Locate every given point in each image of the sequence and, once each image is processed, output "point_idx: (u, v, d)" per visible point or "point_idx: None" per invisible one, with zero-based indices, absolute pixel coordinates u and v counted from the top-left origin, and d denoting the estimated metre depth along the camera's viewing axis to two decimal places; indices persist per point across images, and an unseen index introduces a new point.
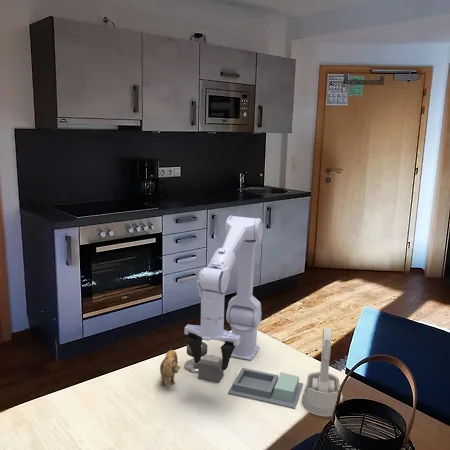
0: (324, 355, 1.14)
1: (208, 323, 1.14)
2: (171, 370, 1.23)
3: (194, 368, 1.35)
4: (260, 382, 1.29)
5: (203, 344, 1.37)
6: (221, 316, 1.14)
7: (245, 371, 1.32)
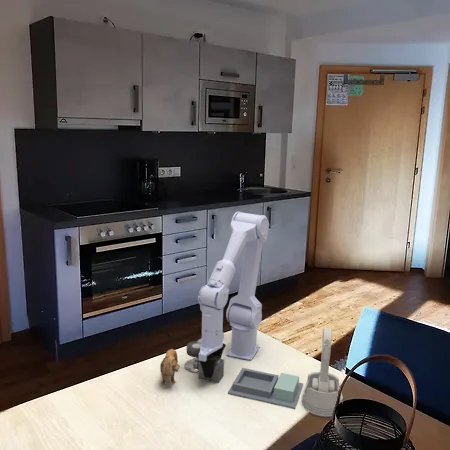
0: (324, 355, 1.14)
1: None
2: (171, 369, 1.23)
3: (194, 368, 1.35)
4: (260, 382, 1.29)
5: None
6: (218, 330, 1.26)
7: (245, 371, 1.32)
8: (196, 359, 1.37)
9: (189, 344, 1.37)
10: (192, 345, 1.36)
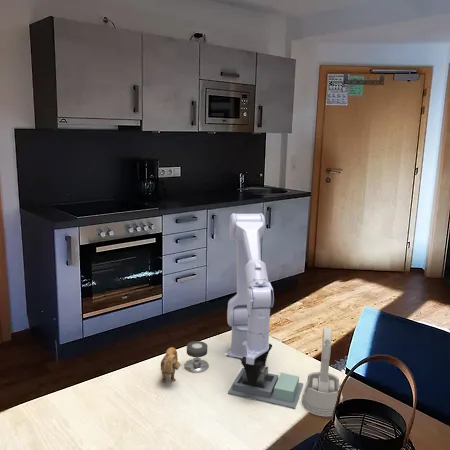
0: (324, 355, 1.14)
1: None
2: (172, 367, 1.24)
3: (194, 368, 1.35)
4: None
5: (203, 344, 1.37)
6: None
7: None
8: (196, 359, 1.37)
9: (189, 344, 1.37)
10: (192, 345, 1.36)
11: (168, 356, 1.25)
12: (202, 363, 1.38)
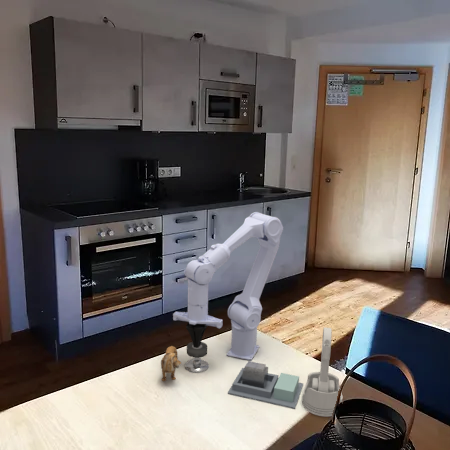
0: (324, 355, 1.14)
1: (194, 309, 1.31)
2: (172, 365, 1.25)
3: (194, 368, 1.35)
4: None
5: (203, 344, 1.37)
6: (200, 304, 1.30)
7: None
8: (196, 359, 1.37)
9: (189, 344, 1.37)
10: (192, 345, 1.36)
11: (168, 355, 1.26)
12: (202, 363, 1.38)
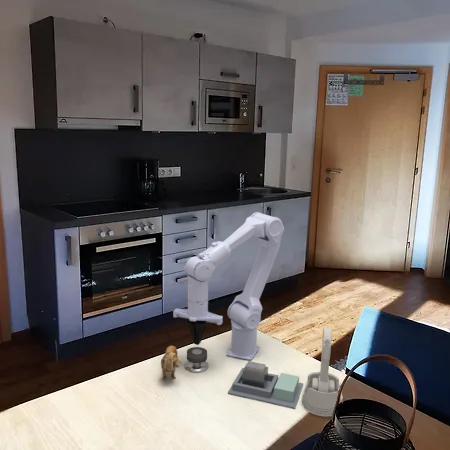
0: (324, 355, 1.14)
1: (194, 306, 1.30)
2: (172, 365, 1.25)
3: (194, 368, 1.35)
4: None
5: (203, 350, 1.37)
6: (200, 301, 1.30)
7: None
8: None
9: (189, 350, 1.37)
10: (192, 351, 1.36)
11: (168, 354, 1.26)
12: (202, 363, 1.38)
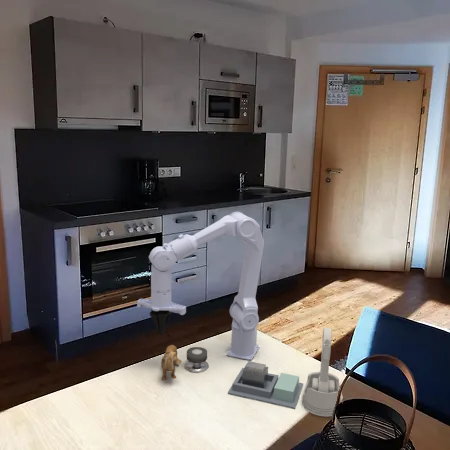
0: (324, 355, 1.14)
1: (157, 295, 1.30)
2: (172, 364, 1.26)
3: (194, 368, 1.35)
4: None
5: (203, 350, 1.37)
6: (160, 291, 1.30)
7: None
8: None
9: (189, 350, 1.37)
10: (192, 351, 1.36)
11: (169, 353, 1.26)
12: (202, 363, 1.38)
